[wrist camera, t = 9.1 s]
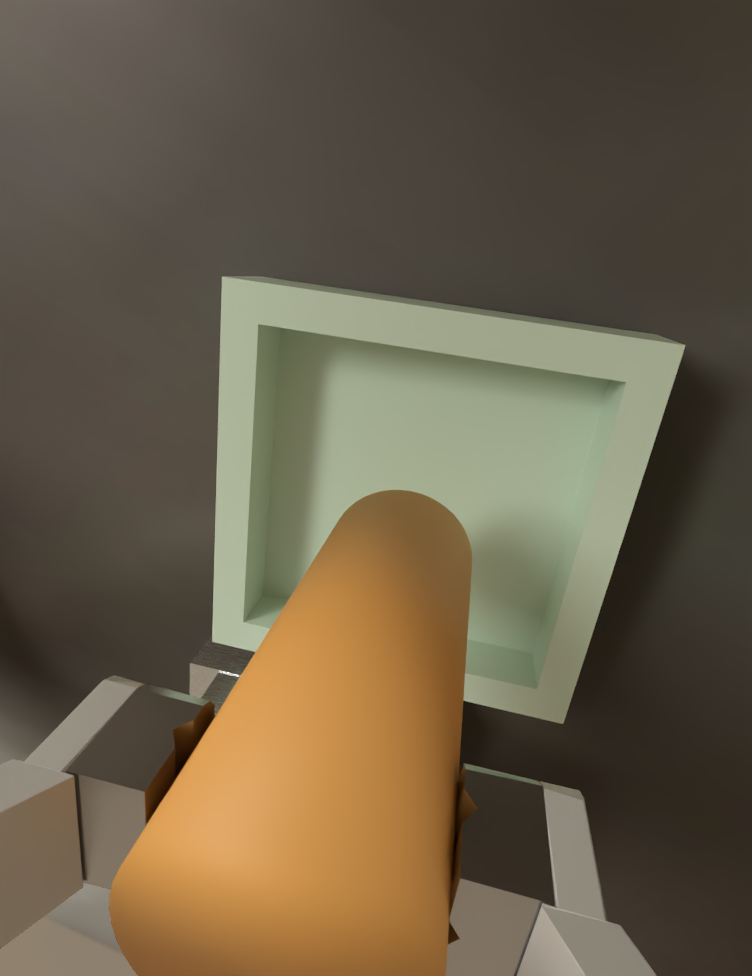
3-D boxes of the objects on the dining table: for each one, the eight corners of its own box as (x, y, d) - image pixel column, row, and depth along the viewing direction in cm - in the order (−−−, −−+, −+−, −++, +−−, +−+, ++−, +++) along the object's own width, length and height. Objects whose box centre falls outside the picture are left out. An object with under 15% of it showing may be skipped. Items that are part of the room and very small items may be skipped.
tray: (259, 276, 16) (222, 276, 14) (655, 334, 15) (685, 345, 13) (243, 600, 21) (212, 641, 18) (554, 669, 19) (563, 724, 17)
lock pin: (338, 477, 14) (101, 786, 5) (485, 505, 13) (478, 889, 5) (324, 602, 15) (115, 1009, 7) (458, 631, 14) (414, 1107, 6)
